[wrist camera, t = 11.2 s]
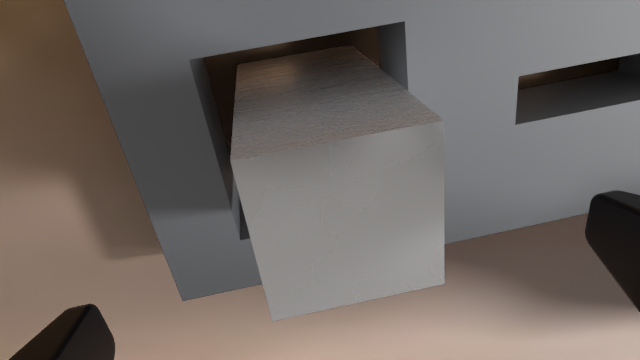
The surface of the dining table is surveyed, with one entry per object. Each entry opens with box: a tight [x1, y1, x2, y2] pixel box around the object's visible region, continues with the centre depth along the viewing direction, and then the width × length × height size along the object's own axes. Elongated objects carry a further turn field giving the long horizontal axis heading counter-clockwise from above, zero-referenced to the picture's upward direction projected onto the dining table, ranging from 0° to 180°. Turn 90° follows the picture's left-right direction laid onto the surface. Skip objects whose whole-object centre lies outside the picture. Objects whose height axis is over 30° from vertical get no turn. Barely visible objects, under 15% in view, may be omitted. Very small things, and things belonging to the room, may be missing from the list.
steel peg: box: [230, 45, 445, 321], centre depth 12 cm, size 4×4×8 cm
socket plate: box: [64, 0, 640, 301], centre depth 15 cm, size 10×20×3 cm, turn 98°
